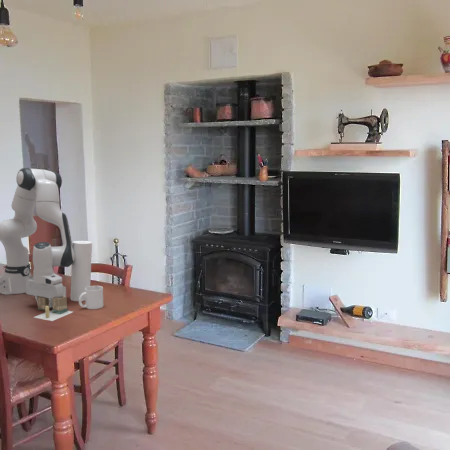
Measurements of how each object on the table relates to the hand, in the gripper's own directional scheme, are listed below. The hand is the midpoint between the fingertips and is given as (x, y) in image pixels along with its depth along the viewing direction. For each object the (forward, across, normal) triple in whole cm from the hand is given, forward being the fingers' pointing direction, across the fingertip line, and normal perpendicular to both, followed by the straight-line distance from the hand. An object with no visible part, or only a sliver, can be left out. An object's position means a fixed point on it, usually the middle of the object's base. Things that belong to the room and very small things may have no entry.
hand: (44, 305), depth 244 cm
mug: (+3, +18, +11) cm, 21 cm away
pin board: (+2, +10, -5) cm, 11 cm away
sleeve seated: (+1, +10, -1) cm, 10 cm away
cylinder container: (+2, +4, +20) cm, 21 cm away
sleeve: (+2, 0, 0) cm, 2 cm away
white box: (+2, -2, +9) cm, 10 cm away
